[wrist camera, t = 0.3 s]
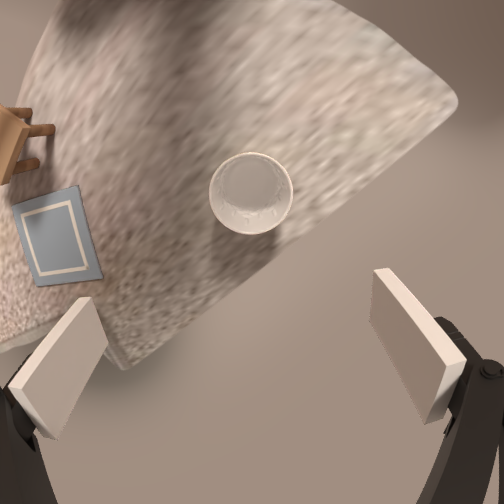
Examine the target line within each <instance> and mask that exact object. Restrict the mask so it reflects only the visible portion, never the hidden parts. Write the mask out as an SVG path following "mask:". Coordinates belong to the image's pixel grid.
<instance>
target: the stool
mask: <svg viewBox="0 0 504 504" xmlns="http://www.w3.org/2000/svg"><path fill="white" fill-rule="evenodd" d="M31 116H32V109H31V108H5V107H4V106H2V105H1V104H0V185H4V184H7V183H9V182H10V179H11V176H12V175H14V174H18V173H21V172H25V171H28V170H32V169H36V168H38V167H39V165H40V161H39V159H38V158H32V159H28V160H23V161H19V162H17V160H18V157H19V155H20V152H21V150H22V147H23V145H24V143H25V140H26V138H28V137H37V136H47V135H53V134H54V132H55V126H54V125H53V124H42V125H27V124H26V123H25V122H23V121H22V120H21V119H22V118H30V117H31Z"/></svg>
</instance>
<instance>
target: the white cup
mask: <svg viewBox="0 0 504 504" xmlns="http://www.w3.org/2000/svg"><path fill="white" fill-rule="evenodd" d="M292 200H293V187H292V183H291V179H290V177H289V175H288V173H287V172H286V170H285V169H284V168H283V166H282V165H281V164H280V163H279V162H277V161H276V160H275V159H273V158H271V157H269V156H267V155H264V154H261V153H256V152H245V153H240V154H237V155H235V156H233V157H231V158H229V159H227V160H226V161H225V162H223V163H222V164H221V165H220V166H219V167H218V169H217V170H216V171H215V173H214V175H213V177H212V179H211V182H210V186H209V201H210V205H211V208H212V211H213V213H214V214H215V216H216V217H217V219H218V220H219V221H220V222H221V223H222V224H223V225H224V226H226V227H227V228H229V229H230V230H232V231H235V232H237V233H241V234H247V235H255V234H261V233H264V232H267V231H269V230H271V229H273V228H275V227H276V226H277V225H279V224H280V223H281V222H282V221H283V220H284V218H285V217H286V215H287V214H288V212H289V210H290V208H291V204H292Z"/></svg>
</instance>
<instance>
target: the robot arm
mask: <svg viewBox="0 0 504 504" xmlns="http://www.w3.org/2000/svg"><path fill="white" fill-rule="evenodd" d="M369 322H370V323H371V325H372V327H373V328H374V330H375V332H376V334H377V336H378V338H379V339H380V341H381V343H382V345H383V347H384V348H385V350H386V352H387V354H388V356H389V357H390V359H391V361H392V363H393V365H394V367H395V368H396V370H397V372H398V374H399V376H400V378H401V380H402V382H403V383H404V385H405V388H406V389H407V391H408V393H409V395H410V397H411V399H412V401H413V403H414V405H415V407H416V409H417V411H418V413H419V415H420V417H421V419H422V421H423V423H424V425H425V424H428V423H431V422H434V421H437V420H440V419H443V417H444V415H445V413H446V410H447V408H449V410H450V411H451V413H452V417H451V419H450V421H449V423H448V425H447V427H446V429H445V431H444V434H445V436H444V439H443V442H442V445H441V447H440V450H439V453H438V455H437V458H436V460H435V463H434V466H433V468H432V470H431V473H430V475H429V477H428V480H427V482H426V484H425V487H424V488H423V491H422V493H421V495H420V497H419V499H418V501H417V503H416V504H483V501H484V498H485V495H486V491H487V488H488V484H489V481H490V477H491V473H492V469H493V465H494V461H495V457H496V452H497V447H498V446H499V502H498V504H504V367H503V366H502V365H501V364H500V363H498V362H496V361H494V360H489V359H484V360H483V359H482V358H481V356H480V355H479V354H478V353H477V352H476V350H475V349H474V348H473V347H472V346H471V345H470V343H469V342H468V341H467V340H466V339H465V338H464V336H463V335H462V334H461V333H460V332H458V329H457V328H456V327H455V326H454V325H453V324H452V322H450V321H448V320H446V319H445V318H443V317H436V318H433V317H432V316H431V315H430V314H429V313H428V312H427V310H426V309H425V308H424V307H423V306H422V305H421V304H420V302H419V301H418V300H417V299H416V298H415V297H414V296H413V294H412V293H411V292H410V291H409V290H408V289H407V288H406V287H405V285H404V284H403V283H402V282H401V281H400V280H399V279H398V278H397V277H396V276H395V274H394V273H393V272H392V271H391V270H390V269H389V268H386V269H377V270H373V285H372V298H371V310H370V321H369ZM108 344H109V342H108V340H107V337H106V335H105V332H104V329H103V327H102V324H101V321H100V319H99V316H98V313H97V311H96V308H95V305H94V302H93V299H92V297H79V298H78V299H77V301H76V302H75V303H74V304H73V305H72V306H71V307H70V309H69V310H68V311H67V312H66V313H65V314H64V316H63V317H62V318H61V319H60V320H59V322H58V323H57V324H56V325H55V326H54V328H53V329H52V330H51V331H50V332H49V334H48V335H47V336H46V337H45V338H44V340H43V341H42V342H41V343H40V345H39V346H38V347H37V349H36V350H35V351H33V352H32V353H31V354H30V355H28V356H27V358H26V359H25V360H24V362H23V363H22V365H20V367H19V368H18V371H16V372H15V373H14V375H13V376H12V377H11V379H10V380H9V381H8V383H7V384H6V386H5V387H4V388H3V390H2V388H1V387H0V504H58V503H57V500H56V498H55V495H54V492H53V489H52V487H51V484H50V481H49V478H48V475H47V472H46V469H45V465H44V462H43V459H42V455H41V452H40V448H39V444H38V440H37V438H36V436H35V435H34V434H33V432H34V430H35V428H37V429H38V430H39V432H40V433H41V434H42V436H43V437H46V438H50V439H54V440H58V438H59V436H60V434H61V432H62V430H63V428H64V426H65V424H66V422H67V420H68V418H69V416H70V414H71V412H72V410H73V408H74V406H75V404H76V402H77V400H78V398H79V396H80V394H81V392H82V391H83V388H84V387H85V385H86V383H87V381H88V379H89V378H90V376H91V374H92V372H93V370H94V368H95V367H96V365H97V363H98V361H99V359H100V358H101V356H102V354H103V352H104V351H105V349H106V347H107V345H108Z"/></svg>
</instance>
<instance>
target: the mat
mask: <svg viewBox="0 0 504 504" xmlns="http://www.w3.org/2000/svg"><path fill="white" fill-rule="evenodd" d="M12 210H13V214H14V218H15V222H16V226H17V229H18V233H19V236H20V240H21V243H22V246H23V249H24V253H25V256H26V259H27V262H28V265H29V267H30V270H31V273H32V276H33V279H34V281H35V284H36V287H37V286H45V285H53V284H62V283H70V282H78V281H86V280H94V279H102V278H103V275H102V272H101V268H100V265H99V262H98V259H97V255H96V252H95V249H94V245H93V242H92V238H91V234H90V231H89V227H88V223H87V219H86V215H85V211H84V207H83V203H82V199H81V194H80V190H79V185H77V186H73V187H70V188H66V189H63V190H59V191H56V192H53V193H49V194H46V195H43V196H40V197H37V198H34V199H30V200H27V201H24V202H21V203H18V204H15V205H13V206H12Z"/></svg>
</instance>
